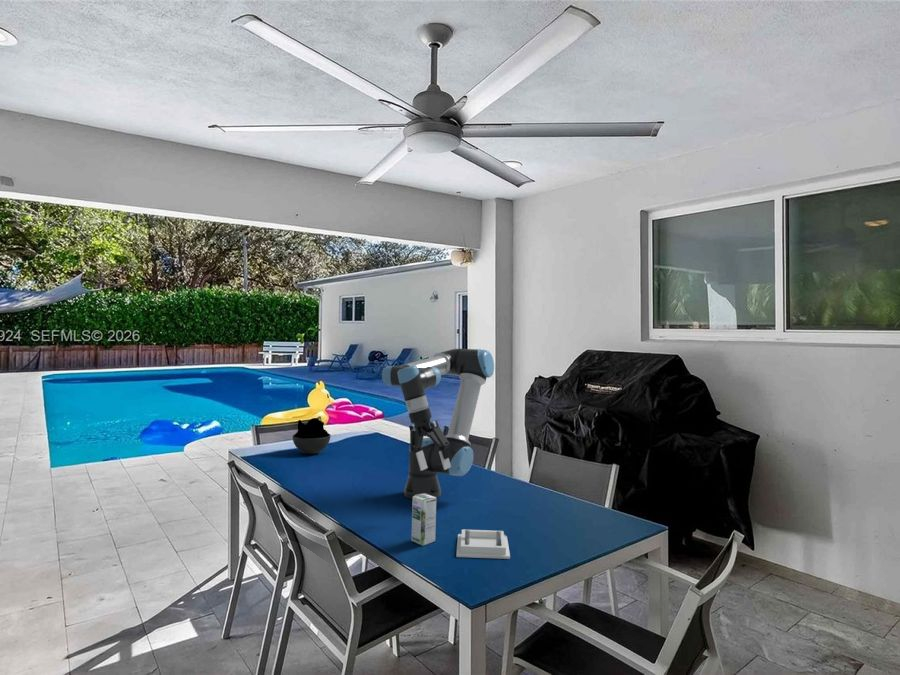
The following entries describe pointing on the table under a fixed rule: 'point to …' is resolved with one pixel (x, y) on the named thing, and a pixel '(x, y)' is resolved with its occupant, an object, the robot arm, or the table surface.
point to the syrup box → (423, 519)
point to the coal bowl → (311, 436)
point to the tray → (483, 544)
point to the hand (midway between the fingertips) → (435, 468)
